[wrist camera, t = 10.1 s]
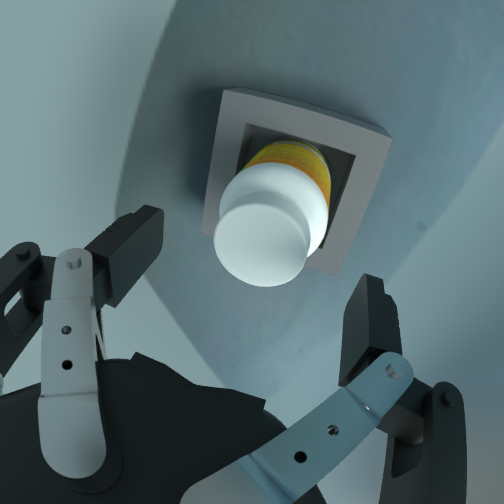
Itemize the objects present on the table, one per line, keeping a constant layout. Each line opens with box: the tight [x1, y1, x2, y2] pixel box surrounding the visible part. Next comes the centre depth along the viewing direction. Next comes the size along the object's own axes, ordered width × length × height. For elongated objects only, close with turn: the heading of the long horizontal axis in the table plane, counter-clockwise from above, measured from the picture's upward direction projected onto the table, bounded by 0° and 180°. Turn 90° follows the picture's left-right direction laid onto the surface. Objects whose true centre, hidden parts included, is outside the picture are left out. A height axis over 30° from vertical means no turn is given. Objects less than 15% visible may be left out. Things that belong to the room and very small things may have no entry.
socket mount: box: [200, 87, 393, 276], centre depth 20 cm, size 10×10×4 cm
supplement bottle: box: [214, 138, 331, 287], centre depth 17 cm, size 5×5×10 cm
